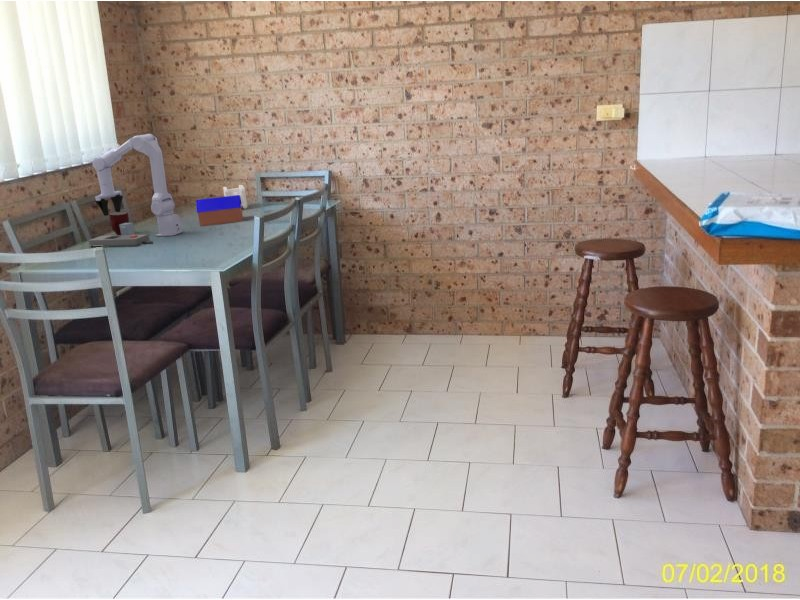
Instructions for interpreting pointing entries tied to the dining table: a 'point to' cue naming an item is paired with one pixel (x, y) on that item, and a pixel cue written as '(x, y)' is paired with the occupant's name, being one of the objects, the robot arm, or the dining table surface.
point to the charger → (127, 229)
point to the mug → (118, 220)
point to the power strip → (121, 240)
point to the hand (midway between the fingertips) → (112, 213)
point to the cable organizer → (237, 191)
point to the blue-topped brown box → (219, 210)
